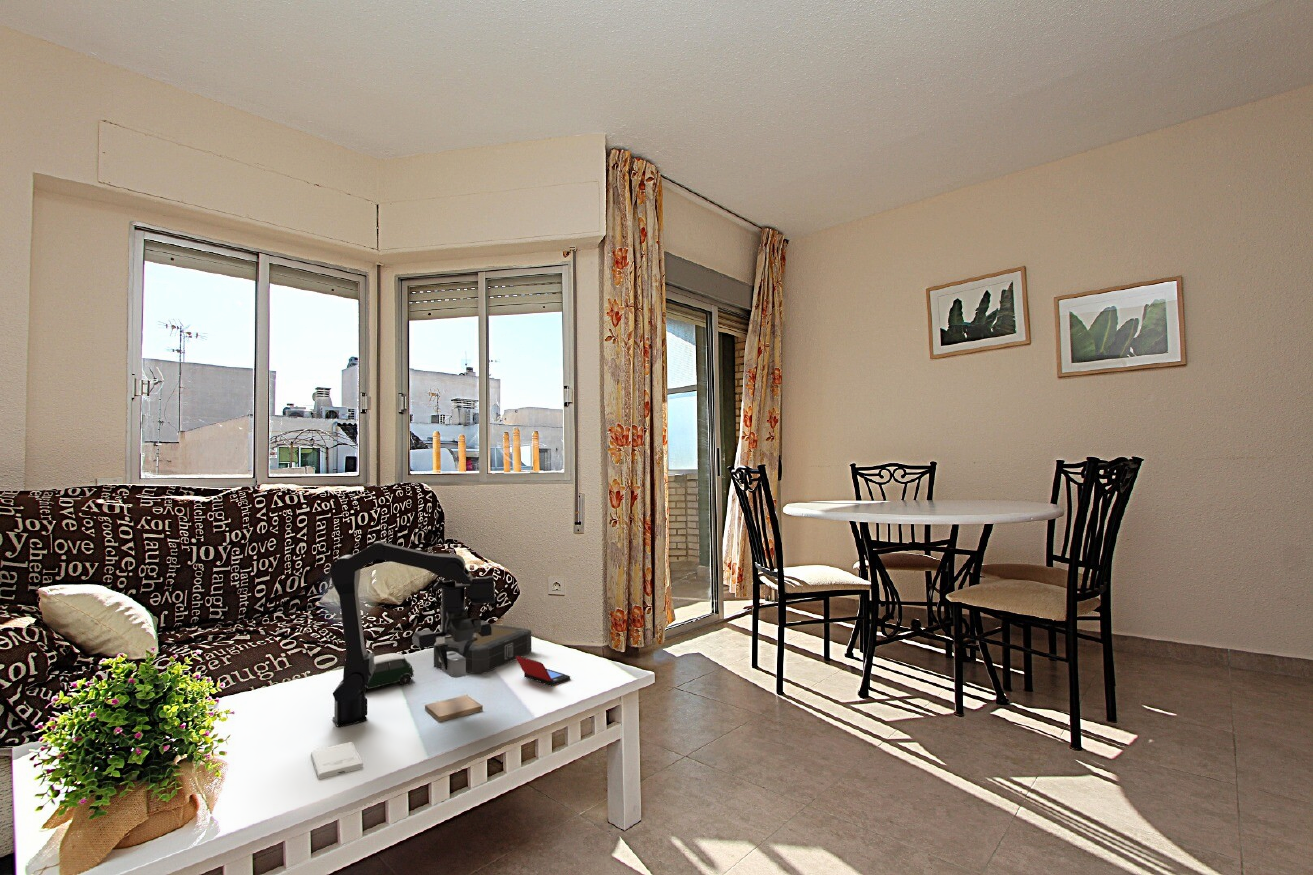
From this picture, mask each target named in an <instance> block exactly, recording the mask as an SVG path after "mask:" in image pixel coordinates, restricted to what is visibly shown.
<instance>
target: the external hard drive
mask: <svg viewBox="0 0 1313 875" xmlns="http://www.w3.org/2000/svg"><path fill="white" fill-rule="evenodd" d="M310 758H311V761H312V764H313V766H314V769H315V772H316V775H317V779H318V780H321V779H324V778H328V777H333V776H336V775H340V774H343V773H349V772H352V771H357V770H359V769H360V770H361V769H363V768H364V763H363V761H362V759H361V756H360V755H359V753H358V751H357V749H356V747H355V744H354V742H352V741H349V742H345V743H340V744H337V745H332V746H328V747H323V748H317V749H315V750H312V751H311V752H310Z"/></svg>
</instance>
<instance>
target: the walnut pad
mask: <svg viewBox="0 0 1313 875" xmlns="http://www.w3.org/2000/svg"><path fill="white" fill-rule="evenodd" d="M483 708H484V707H483V705H482V704H481V703H479V702H478V701H477V700H476V699H474V698H472V697H471V696H469V694H465V695H461V696H457V697H452V698H449V699H445V700H440V701H436V702H432V703H428V704H425V705H424V710H425V711H426V712H427V713H428V714H430V715H431V717H433V718H434V719H435V720H436V721H438V723H441V722H444V721H449V720H452V719H455V718H458V717H459V718H460V717H463V716H467V715H472V714H475V713H478V712H482V711H483V710H484V709H483Z"/></svg>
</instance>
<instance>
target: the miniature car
mask: <svg viewBox="0 0 1313 875" xmlns="http://www.w3.org/2000/svg"><path fill="white" fill-rule="evenodd" d="M374 663H375V665H376V669H375V670H374V673H373V676H372V677H371V679H370V681H369V682H368V684H367V685H366V687H365V688H364V689H362V690H363V691H364V692H365V693H366V690H367V689H372V688H377V687H381V686H385V685H389V684H395V683H398V682H399V683H400V684H401V685H403V686H405V685H410V683H411V681H412V678H413V677H415V674H414V672H415V671H414V668H413V666H412V665H411V663H410V662H409V661H408V660H407V659H406V656H405V655H404V654H402V653H401V654H400V653H398V652H396V653H395V652H394V653H393V652H392V653H390V652H389V653H385V654H380V655H374Z"/></svg>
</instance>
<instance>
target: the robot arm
mask: <svg viewBox="0 0 1313 875" xmlns="http://www.w3.org/2000/svg"><path fill="white" fill-rule="evenodd" d="M376 560H383V561H387V562H391V563H395V564H399V565H404V566H409V567H414V568H418V569H422V570H426V571H429V572H430V573H432V574H434V575H436V576H437V577H440V578H439V579H438V581H437V582H436V583H435V584H434V585H433V590H440V592H441V593H440V594H441V608H439V614H441V618H440V619H441V624H440V625H439V630H440V631H437V632H434V631H432V630H430V629H425V630H419V631H415V632H414V633H413V635H412V644H413V645H414V646H417V648H421V649H422V648H428V647H433V649H434V648H435V649H436V651H437V653H438V655H439V657H440V660H441V662H442V665H443V667H444V669H445V670H447V665H448V663H447V646H448V644H446V643H445V639H446V638H453V640H454V641H455V642H459V654H460V655H462V656H463V657H465V658H466V655H467V652H468V650H469V648H470V646H471V644H472V643H473V642H474V641H477V640H478V638H476V633H478V634H479V635H480V636H481V637H483V636H489V635H492V625H493V624H492V625H491V623H489V622H487V621H485V620H481V618H480V617H472V618H469V616H468V610H467V609H466V589H467V601H469V602H470V603H471V604H472V605H485V604H488V605H489V604H495V602H496V598H495V597H496V594H495V593H496V587H495V577H494V575H488V576H482V577H480V576H479V577H474V576H473V575H472V573H471V572H470V571H469V570H468V568H467V567H466V561H465V559H464V558H463V556H461V555H459V554H458V553H457V554H456V553H430V552H425V551H421V550H417V549H414V548H408V547H404V546H399V545H395V544H392V543H391V544H390V543H387V542H385V541H383V540H378V541H375V542H373V543H372V544H370V545H369V546H368V547H366V548H364V549H362V550H360V551H358V552H357V553H355V554H353V555H352V554H345V555H342V556H340V557H339V558H337V559H336V560H334V561H333V562H332V563H331V565H330V566H329V571H328V572H329V575H330V576H329V577H330V578H331V581H332V586H333V587H334V589H335V591H336V592H337V595H338V597H339V599H338V600H339V606H340V615H341V621H342V622H341V623H342V630H343V638H344V646H345V658H344V664H343V676H342V680H341V681H340V682H339V684H338V685H337V687H336V688H335V689H334V690H333V692H332V696H333V699H334V706H333V707H334V712H333V713H334V716H333V717H332V720H333V723H335V725H336V726H337V727H338V728H339V727H340V728H341V727H345V726H349V725H353V724H358V723H361V722H366V721H368V717H367V715H368V698H367V697H366V691H365V692H364V691H363V690H362V689H364V688H365V687H366V685H367V684H368V682H369V681H370V679H371V677H372V676H373V673H374V670H375V669H376V665H375V663H374V656H375V652H374V651H373V652H368V651H367V649H366V645H365V639H364V630H363V622H362V615H361V607H360V598H359V597H360V596H359V586H360V579H361V569H362V568H364V567H366V566H367V565H369V564H371V563H372V562H375V561H376ZM444 579H445V580H444ZM457 582H458V583H457ZM366 688H367V687H366Z"/></svg>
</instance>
